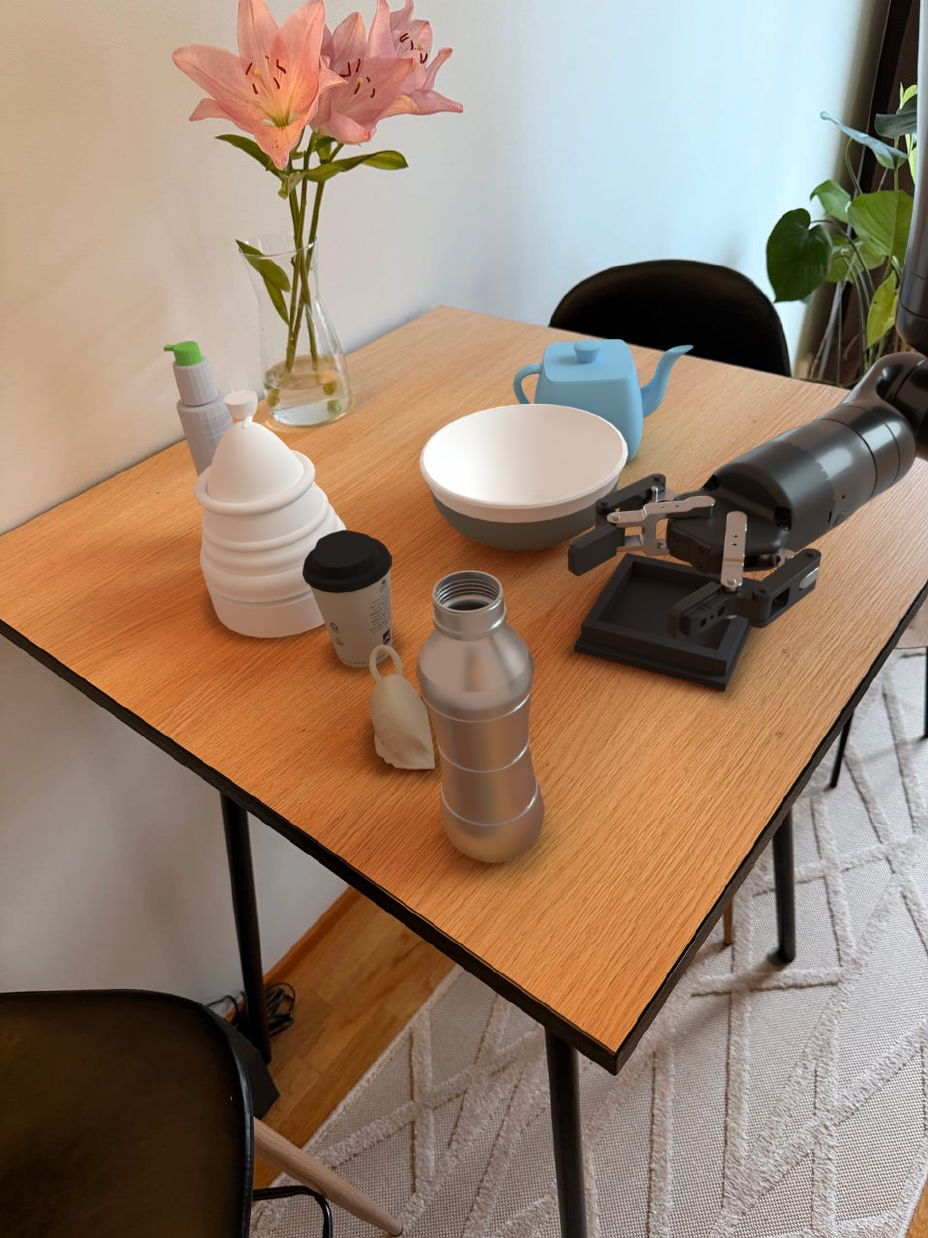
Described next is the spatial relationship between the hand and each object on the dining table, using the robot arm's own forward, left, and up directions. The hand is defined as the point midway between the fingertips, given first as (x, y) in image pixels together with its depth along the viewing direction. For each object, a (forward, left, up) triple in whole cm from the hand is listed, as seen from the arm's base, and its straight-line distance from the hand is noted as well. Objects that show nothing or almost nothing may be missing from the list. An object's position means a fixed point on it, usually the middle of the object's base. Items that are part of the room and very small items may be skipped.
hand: (619, 593), depth 55 cm
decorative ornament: (+15, +5, -14) cm, 21 cm away
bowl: (+18, -23, -14) cm, 32 cm away
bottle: (+43, -11, -14) cm, 46 cm away
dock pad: (+1, -14, -14) cm, 20 cm away
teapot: (+17, -40, -14) cm, 46 cm away
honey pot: (+34, -6, -14) cm, 37 cm away
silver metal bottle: (+5, +10, -14) cm, 18 cm away
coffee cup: (+23, -2, -14) cm, 27 cm away
